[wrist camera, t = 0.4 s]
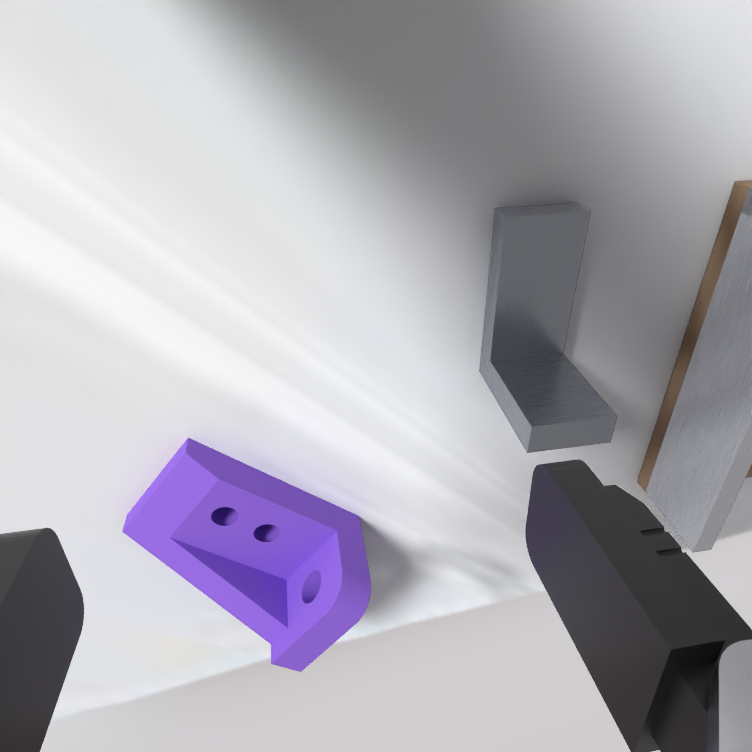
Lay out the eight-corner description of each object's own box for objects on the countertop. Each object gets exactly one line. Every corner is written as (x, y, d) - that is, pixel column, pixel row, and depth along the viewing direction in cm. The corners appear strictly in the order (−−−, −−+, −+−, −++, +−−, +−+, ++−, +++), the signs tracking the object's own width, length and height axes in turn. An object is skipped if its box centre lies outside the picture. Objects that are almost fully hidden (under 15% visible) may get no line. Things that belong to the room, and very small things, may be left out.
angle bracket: (494, 207, 26) (559, 263, 20) (575, 201, 26) (662, 254, 20) (478, 369, 31) (527, 452, 25) (547, 362, 31) (610, 442, 25)
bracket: (358, 512, 36) (375, 606, 30) (295, 573, 38) (300, 671, 32) (188, 434, 30) (170, 531, 24) (128, 511, 32) (98, 616, 27)
